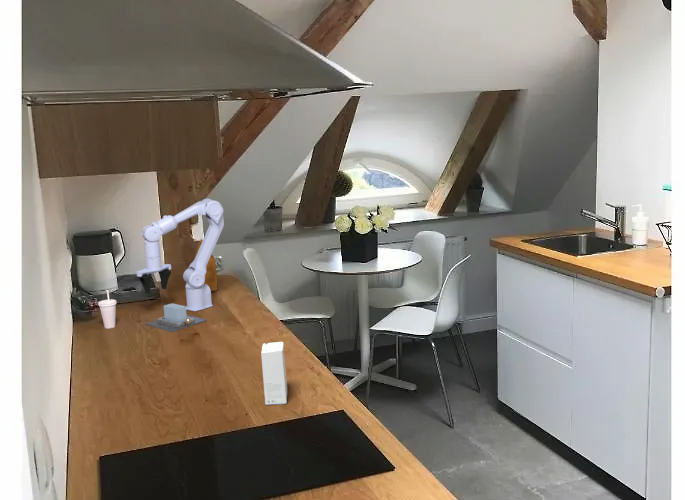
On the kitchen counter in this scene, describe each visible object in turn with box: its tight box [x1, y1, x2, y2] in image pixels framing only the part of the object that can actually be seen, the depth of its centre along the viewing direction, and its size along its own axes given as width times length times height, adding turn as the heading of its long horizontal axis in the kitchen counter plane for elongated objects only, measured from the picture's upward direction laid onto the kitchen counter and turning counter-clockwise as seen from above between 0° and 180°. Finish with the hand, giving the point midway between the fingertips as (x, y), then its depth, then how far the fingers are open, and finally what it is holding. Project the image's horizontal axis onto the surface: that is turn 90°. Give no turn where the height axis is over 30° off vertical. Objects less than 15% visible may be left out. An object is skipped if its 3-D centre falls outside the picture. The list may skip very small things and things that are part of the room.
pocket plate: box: [145, 314, 208, 333], centre depth 258 cm, size 16×16×3 cm
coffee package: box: [194, 239, 218, 292], centre depth 303 cm, size 10×12×22 cm
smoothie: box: [97, 289, 117, 329], centre depth 255 cm, size 6×6×14 cm
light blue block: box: [163, 303, 188, 323], centre depth 258 cm, size 8×4×6 cm, turn 51°
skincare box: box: [260, 341, 288, 406], centre depth 185 cm, size 8×6×15 cm
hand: (156, 291), depth 268 cm, fingers open, 7 cm apart
